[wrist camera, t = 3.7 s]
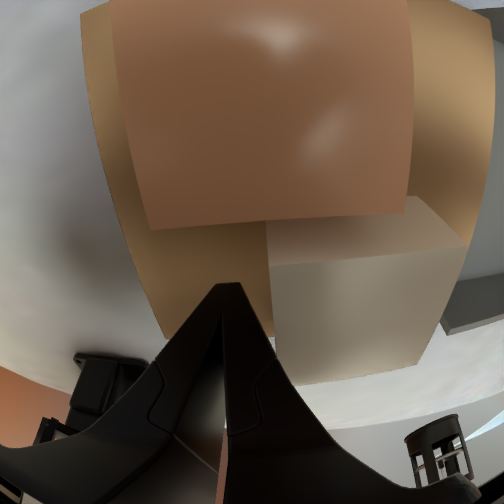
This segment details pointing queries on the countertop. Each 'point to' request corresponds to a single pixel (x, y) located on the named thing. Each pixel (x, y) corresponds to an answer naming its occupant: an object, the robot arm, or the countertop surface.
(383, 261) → the cream rectangular block
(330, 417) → the countertop surface
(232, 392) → the robot arm
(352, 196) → the tan cardboard box
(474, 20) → the oak board
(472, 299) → the tray
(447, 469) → the french press
